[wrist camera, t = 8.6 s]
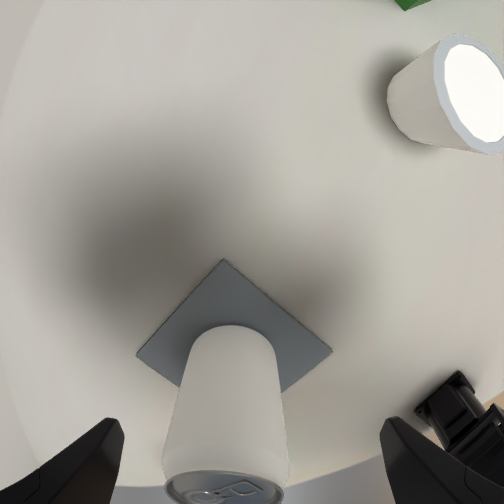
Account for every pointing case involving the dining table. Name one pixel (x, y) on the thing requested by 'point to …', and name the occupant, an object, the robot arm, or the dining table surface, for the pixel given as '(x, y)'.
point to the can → (228, 423)
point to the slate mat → (232, 313)
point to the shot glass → (451, 97)
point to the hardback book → (410, 3)
